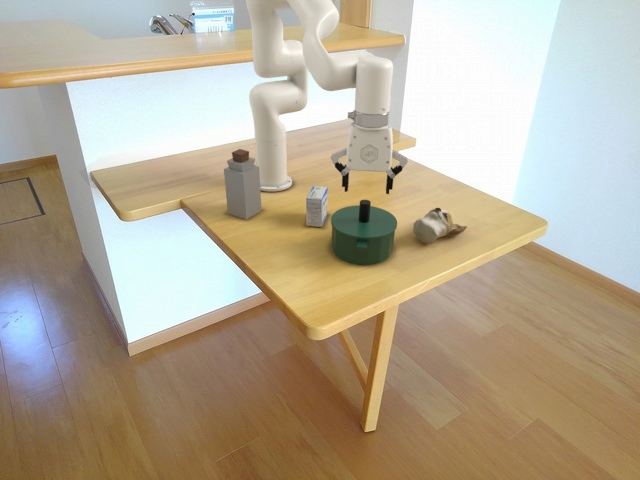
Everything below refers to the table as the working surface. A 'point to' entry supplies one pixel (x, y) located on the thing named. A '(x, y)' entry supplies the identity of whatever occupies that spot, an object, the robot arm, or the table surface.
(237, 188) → the perfume bottle
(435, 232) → the ceramic sculpture
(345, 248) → the pot
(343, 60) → the robot arm
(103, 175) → the table surface
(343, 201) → the table surface
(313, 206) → the medicine box
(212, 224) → the table surface
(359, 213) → the lid
